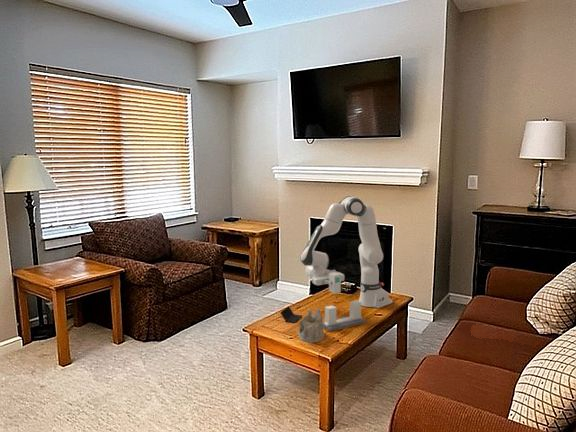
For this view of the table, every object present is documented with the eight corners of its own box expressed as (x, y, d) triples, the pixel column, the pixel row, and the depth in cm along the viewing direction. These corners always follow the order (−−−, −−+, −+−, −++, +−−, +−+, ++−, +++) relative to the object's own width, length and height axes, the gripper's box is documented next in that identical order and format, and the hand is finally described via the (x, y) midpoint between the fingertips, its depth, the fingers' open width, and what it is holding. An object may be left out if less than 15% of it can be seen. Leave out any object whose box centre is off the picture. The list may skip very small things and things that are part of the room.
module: (335, 290, 256) (335, 272, 254) (340, 292, 251) (340, 274, 249) (328, 291, 254) (328, 273, 252) (334, 293, 249) (334, 275, 247)
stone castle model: (306, 326, 242) (306, 301, 239) (330, 335, 232) (330, 309, 228) (288, 337, 231) (287, 311, 228) (312, 347, 220) (311, 320, 217)
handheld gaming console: (298, 321, 247) (288, 306, 248) (288, 327, 248) (278, 313, 250) (303, 316, 258) (293, 302, 259) (294, 322, 259) (284, 308, 261)
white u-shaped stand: (355, 316, 256) (355, 298, 254) (366, 322, 247) (366, 303, 245) (319, 325, 244) (319, 305, 243) (329, 331, 236) (329, 311, 234)
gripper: (308, 273, 258) (320, 279, 246) (336, 269, 267) (349, 274, 255) (308, 284, 259) (320, 290, 247) (336, 279, 268) (349, 284, 256)
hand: (335, 282), depth 251 cm, fingers closed on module, 4 cm apart
